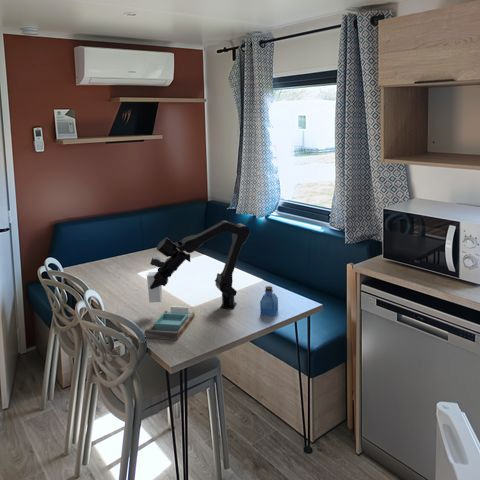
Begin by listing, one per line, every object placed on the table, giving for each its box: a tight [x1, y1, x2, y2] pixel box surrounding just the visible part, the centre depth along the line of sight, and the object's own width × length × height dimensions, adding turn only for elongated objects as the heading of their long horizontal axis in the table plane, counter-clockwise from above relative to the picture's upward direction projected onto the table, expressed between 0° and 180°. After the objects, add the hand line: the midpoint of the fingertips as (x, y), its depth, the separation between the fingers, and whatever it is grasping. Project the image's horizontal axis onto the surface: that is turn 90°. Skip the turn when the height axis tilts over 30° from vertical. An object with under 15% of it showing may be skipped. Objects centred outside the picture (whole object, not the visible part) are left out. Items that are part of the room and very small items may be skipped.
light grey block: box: [146, 271, 163, 303], centre depth 227 cm, size 5×5×12 cm
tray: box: [153, 305, 192, 331], centre depth 219 cm, size 17×11×4 cm, turn 168°
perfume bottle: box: [259, 285, 279, 317], centre depth 226 cm, size 6×6×12 cm
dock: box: [144, 310, 196, 341], centre depth 216 cm, size 24×14×3 cm, turn 168°
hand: (151, 286), depth 227 cm, fingers closed on light grey block, 5 cm apart
